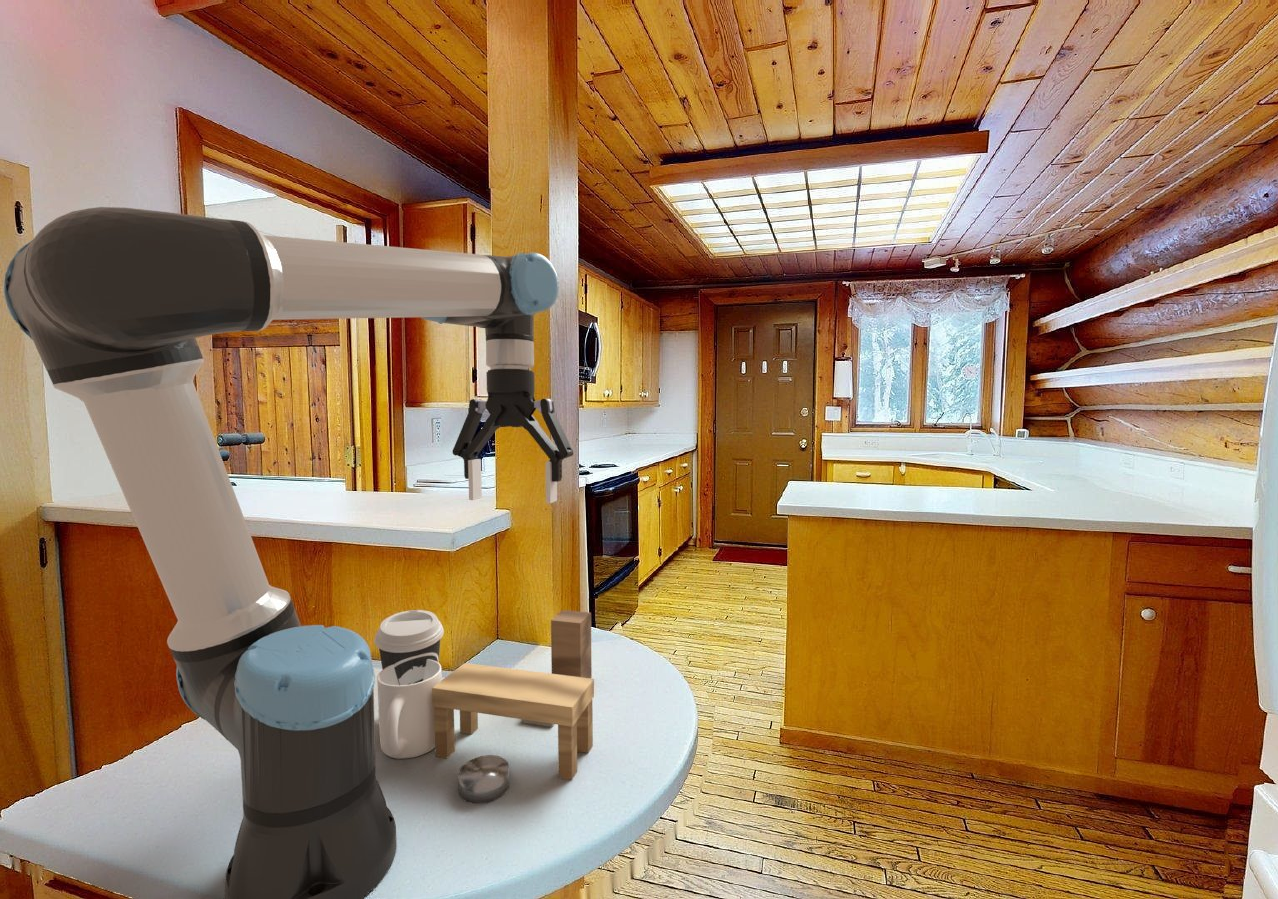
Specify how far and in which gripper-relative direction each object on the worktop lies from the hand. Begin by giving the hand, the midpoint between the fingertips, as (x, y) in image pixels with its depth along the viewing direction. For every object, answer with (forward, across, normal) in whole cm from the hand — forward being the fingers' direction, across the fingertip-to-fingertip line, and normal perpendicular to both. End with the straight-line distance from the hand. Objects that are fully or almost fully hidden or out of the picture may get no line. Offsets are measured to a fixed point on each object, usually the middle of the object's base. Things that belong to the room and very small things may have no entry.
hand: (512, 500), depth 95 cm
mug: (+32, +6, +20) cm, 38 cm away
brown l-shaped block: (+32, -8, +1) cm, 33 cm away
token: (+32, -8, +24) cm, 41 cm away
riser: (+32, -8, +16) cm, 36 cm away
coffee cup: (+31, +11, +12) cm, 35 cm away
